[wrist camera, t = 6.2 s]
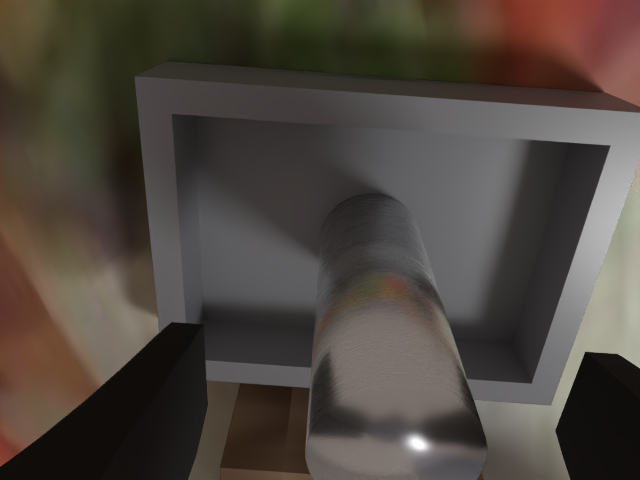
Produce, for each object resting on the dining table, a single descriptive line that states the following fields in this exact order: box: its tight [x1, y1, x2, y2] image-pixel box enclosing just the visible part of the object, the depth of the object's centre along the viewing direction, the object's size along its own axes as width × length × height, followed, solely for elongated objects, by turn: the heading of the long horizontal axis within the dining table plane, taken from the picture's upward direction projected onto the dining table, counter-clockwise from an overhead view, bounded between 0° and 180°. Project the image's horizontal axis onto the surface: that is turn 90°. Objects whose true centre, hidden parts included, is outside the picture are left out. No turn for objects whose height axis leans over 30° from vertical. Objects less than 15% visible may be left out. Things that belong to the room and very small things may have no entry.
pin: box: [305, 193, 487, 480], centre depth 12 cm, size 3×3×8 cm
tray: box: [134, 61, 640, 405], centre depth 15 cm, size 12×9×2 cm
